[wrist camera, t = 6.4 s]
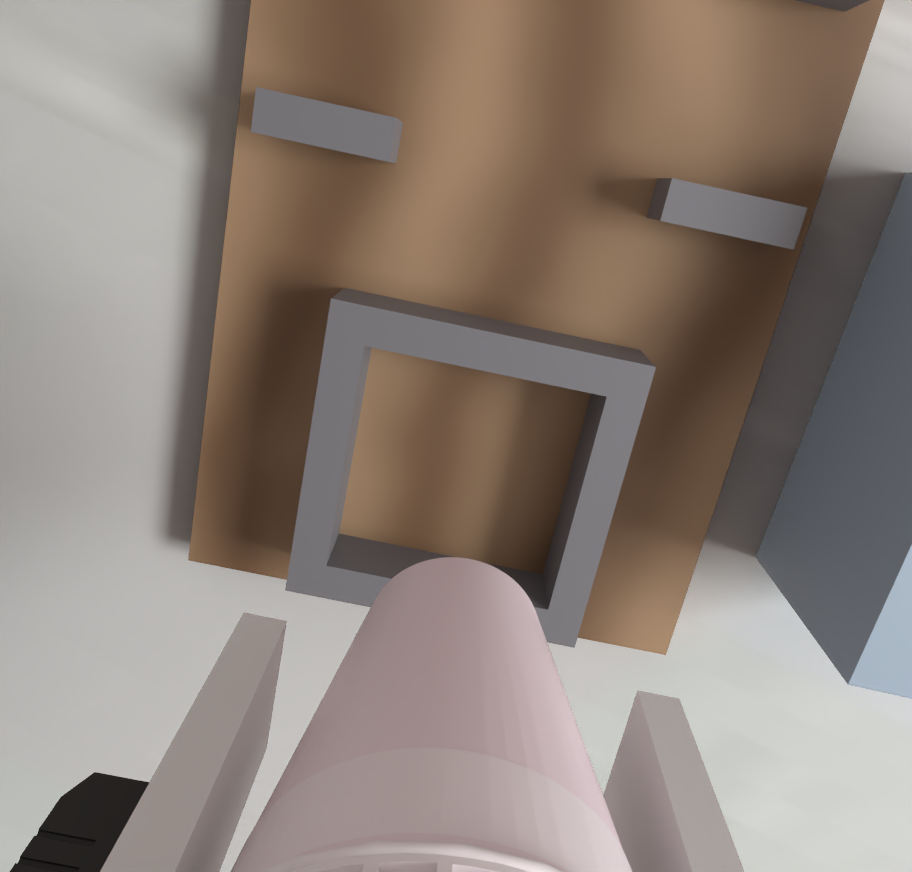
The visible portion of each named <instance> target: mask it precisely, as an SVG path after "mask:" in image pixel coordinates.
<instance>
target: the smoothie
mask: <svg viewBox="0 0 912 872" xmlns="http://www.w3.org/2000/svg"><path fill="white" fill-rule="evenodd" d="M231 872H632V869H631V867H630V865H629V862H628V860H627V858H626V855H625V853H624V851H623V848H622V845H621V843H620V840H619V837H618V834H617V832H616V829H615V826H614V823H613V821H612V818H611V815H610V813H609V810H608V807H607V804H606V802H605V799H604V796H603V793H602V791H601V788H600V785H599V783H598V780H597V777H596V774H595V772H594V769H593V766H592V764H591V761H590V758H589V755H588V753H587V750H586V747H585V744H584V742H583V739H582V736H581V734H580V731H579V728H578V725H577V723H576V720H575V717H574V714H573V712H572V709H571V706H570V704H569V701H568V698H567V695H566V693H565V690H564V687H563V684H562V682H561V679H560V676H559V674H558V671H557V668H556V665H555V663H554V660H553V657H552V654H551V652H550V649H549V646H548V644H547V641H546V638H545V635H544V633H543V630H542V627H541V624H540V622H539V619H538V616H537V614H536V611H535V609H534V606H533V604H532V602H531V600H530V599H529V597H528V596H527V594H526V593H525V591H524V590H523V589H522V588H521V587H520V585H519V584H518V583H517V582H515V581H514V580H513V579H512V578H511V577H510V576H508V575H507V574H505V573H504V572H502V571H501V570H499V569H497V568H495V567H493V566H491V565H489V564H486V563H483V562H480V561H477V560H472V559H468V558H459V557H445V558H436V559H431V560H427V561H423V562H420V563H417V564H415V565H413V566H410V567H408V568H407V569H405V570H403V571H401V572H400V573H399V574H397V575H396V576H394V577H393V578H392V579H391V580H390V581H389V582H388V583H387V584H386V585H385V586H384V587H383V588H382V590H381V591H380V592H379V594H378V595H377V597H376V599H375V601H374V602H373V604H372V606H371V608H370V610H369V612H368V614H367V616H366V618H365V619H364V621H363V623H362V625H361V627H360V629H359V631H358V633H357V635H356V636H355V638H354V640H353V642H352V644H351V646H350V648H349V650H348V652H347V654H346V655H345V657H344V659H343V661H342V663H341V665H340V667H339V669H338V671H337V672H336V674H335V676H334V678H333V680H332V682H331V684H330V686H329V688H328V690H327V691H326V693H325V695H324V697H323V699H322V701H321V703H320V705H319V707H318V708H317V710H316V712H315V714H314V716H313V718H312V720H311V722H310V724H309V725H308V727H307V729H306V731H305V733H304V735H303V737H302V739H301V741H300V743H299V744H298V746H297V748H296V750H295V752H294V754H293V756H292V758H291V760H290V761H289V763H288V765H287V767H286V769H285V771H284V773H283V775H282V777H281V779H280V780H279V782H278V784H277V786H276V788H275V790H274V792H273V794H272V796H271V797H270V799H269V801H268V803H267V805H266V807H265V809H264V811H263V813H262V814H261V816H260V818H259V820H258V822H257V824H256V826H255V827H254V829H253V831H252V832H251V834H250V836H249V837H248V839H247V841H246V843H245V845H244V847H243V849H242V850H241V852H240V854H239V856H238V858H237V860H236V862H235V864H234V866H233V868H232V870H231Z"/></svg>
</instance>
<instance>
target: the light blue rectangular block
mask: <svg viewBox="0 0 912 872" xmlns="http://www.w3.org/2000/svg"><path fill="white" fill-rule="evenodd" d="M756 558H757V559H758V561H759V562H760V564H761V565H762V566H763V568H764V569H765V570H766V572H767V573H768V575H769V576H770V577H771V579H772V580H773V581H774V583H775V584H776V586H777V587H778V588H779V590H780V591H781V593H782V594H783V595H784V597H785V598H786V599H787V601H788V602H789V604H790V605H791V606H792V608H793V609H794V610H795V612H796V613H797V615H798V616H799V617H800V619H801V620H802V622H803V623H804V624H805V626H806V627H807V628H808V630H809V631H810V633H811V634H812V635H813V637H814V638H815V639H816V641H817V642H818V644H819V645H820V646H821V648H822V649H823V651H824V652H825V653H826V655H827V656H828V657H829V659H830V660H831V662H832V663H833V664H834V666H835V667H836V668H837V670H838V671H839V673H840V674H841V675H842V677H843V678H844V679H845V681H846V682H847V684H848V685H853V686H857V687H862V688H866V689H870V690H875V691H879V692H884V693H888V694H893V695H897V696H902V697H906V698H911V699H912V173H905V176H904V178H903V181H902V183H901V186H900V188H899V191H898V193H897V196H896V199H895V201H894V204H893V206H892V209H891V211H890V214H889V217H888V219H887V222H886V224H885V227H884V229H883V232H882V235H881V237H880V240H879V242H878V245H877V247H876V250H875V253H874V255H873V258H872V260H871V263H870V265H869V268H868V271H867V273H866V276H865V278H864V281H863V283H862V286H861V289H860V291H859V294H858V296H857V299H856V301H855V304H854V307H853V309H852V312H851V314H850V317H849V319H848V322H847V325H846V327H845V330H844V332H843V335H842V337H841V340H840V342H839V345H838V348H837V350H836V353H835V355H834V358H833V360H832V363H831V366H830V368H829V371H828V373H827V376H826V378H825V381H824V384H823V386H822V389H821V391H820V394H819V396H818V399H817V402H816V404H815V407H814V409H813V412H812V414H811V417H810V420H809V422H808V425H807V427H806V430H805V432H804V435H803V438H802V440H801V443H800V445H799V448H798V450H797V453H796V456H795V458H794V461H793V463H792V466H791V468H790V471H789V474H788V476H787V479H786V481H785V484H784V486H783V489H782V492H781V494H780V497H779V499H778V502H777V504H776V507H775V509H774V512H773V515H772V517H771V520H770V522H769V525H768V527H767V530H766V533H765V535H764V538H763V540H762V543H761V545H760V548H759V551H758V553H757V556H756Z"/></svg>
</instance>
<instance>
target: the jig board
mask: <svg viewBox="0 0 912 872" xmlns="http://www.w3.org/2000/svg"><path fill="white" fill-rule="evenodd" d="M883 3H884V0H869V1H867V2H865V3H863V4H860V5H858V6H856V7H854V8H852V9H850V10H848V11H845V12H844V11H839V10H835V9H830V8H826V7H822V6H817V5H813V4H808V3H804V2H800V1H795V0H251V5H250V14H249V23H248V32H247V41H246V50H245V59H244V68H243V77H242V86H241V95H240V104H239V113H238V122H237V131H236V139H235V148H234V157H233V166H232V175H231V184H230V193H229V202H228V211H227V220H226V229H225V238H224V247H223V256H222V264H221V273H220V282H219V291H218V300H217V309H216V318H215V327H214V336H213V345H212V354H211V363H210V372H209V381H208V389H207V398H206V407H205V416H204V425H203V434H202V443H201V452H200V461H199V470H198V479H197V488H196V497H195V506H194V515H193V523H192V532H191V541H190V550H189V559H188V560H190V561H195V562H200V563H205V564H211V565H216V566H221V567H226V568H231V569H236V570H241V571H246V572H251V573H256V574H261V575H266V576H271V577H276V578H281V579H286V580H287V576H288V570H289V564H290V557H291V551H292V545H293V538H294V532H295V525H296V519H297V513H298V506H299V500H300V493H301V487H302V481H303V474H304V468H305V461H306V455H307V449H308V442H309V436H310V429H311V423H312V417H313V410H314V404H315V397H316V391H317V385H318V378H319V372H320V365H321V359H322V353H323V346H324V340H325V333H326V327H327V321H328V314H329V308H330V301H331V298H332V297H333V296H335V295H336V294H337V293H339V292H340V291H341V290H342V289H344V288H349V289H354V290H359V291H363V292H368V293H373V294H378V295H382V296H387V297H392V298H397V299H401V300H406V301H411V302H415V303H420V304H425V305H430V306H434V307H439V308H444V309H449V310H453V311H458V312H463V313H468V314H472V315H477V316H482V317H486V318H491V319H496V320H501V321H505V322H510V323H515V324H520V325H524V326H529V327H534V328H539V329H543V330H548V331H553V332H557V333H562V334H567V335H572V336H576V337H581V338H586V339H591V340H595V341H600V342H605V343H610V344H614V345H619V346H624V347H629V348H633V349H638V350H641V351H642V352H643V353H644V354H645V355H646V357H647V358H648V359H649V360H650V361H651V362H652V363H653V364H654V365H655V366H656V369H655V373H654V376H653V380H652V383H651V387H650V390H649V393H648V397H647V400H646V404H645V407H644V411H643V414H642V417H641V421H640V424H639V428H638V431H637V435H636V438H635V441H634V445H633V448H632V452H631V455H630V459H629V462H628V465H627V469H626V472H625V476H624V479H623V483H622V486H621V489H620V493H619V496H618V500H617V503H616V507H615V510H614V513H613V517H612V520H611V524H610V527H609V531H608V534H607V537H606V541H605V544H604V548H603V551H602V555H601V558H600V561H599V565H598V568H597V572H596V575H595V579H594V582H593V585H592V589H591V592H590V596H589V599H588V603H587V606H586V609H585V613H584V616H583V620H582V623H581V627H580V630H579V633H578V638H583V639H588V640H593V641H598V642H603V643H608V644H613V645H619V646H624V647H629V648H634V649H639V650H644V651H649V652H654V653H659V654H664V655H666V652H667V649H668V646H669V643H670V641H671V638H672V635H673V632H674V629H675V626H676V623H677V620H678V617H679V614H680V611H681V608H682V605H683V602H684V599H685V596H686V593H687V590H688V587H689V584H690V581H691V578H692V575H693V572H694V569H695V566H696V563H697V560H698V557H699V554H700V551H701V548H702V545H703V542H704V539H705V536H706V533H707V530H708V527H709V524H710V521H711V518H712V515H713V512H714V509H715V506H716V503H717V500H718V497H719V494H720V491H721V488H722V485H723V482H724V479H725V476H726V473H727V470H728V467H729V464H730V461H731V458H732V455H733V452H734V449H735V446H736V443H737V440H738V437H739V434H740V431H741V428H742V425H743V422H744V419H745V416H746V413H747V410H748V407H749V404H750V401H751V398H752V395H753V392H754V389H755V386H756V383H757V380H758V377H759V374H760V371H761V368H762V365H763V362H764V359H765V356H766V353H767V350H768V347H769V344H770V341H771V338H772V335H773V332H774V329H775V326H776V323H777V320H778V317H779V314H780V311H781V308H782V305H783V302H784V299H785V296H786V293H787V290H788V287H789V284H790V281H791V278H792V275H793V272H794V269H795V266H796V263H797V260H798V257H799V254H800V251H801V248H802V245H803V242H804V239H805V236H806V233H807V230H808V227H809V224H810V221H811V219H812V216H813V213H814V210H815V207H816V204H817V201H818V198H819V195H820V192H821V189H822V186H823V183H824V180H825V177H826V174H827V171H828V168H829V165H830V162H831V159H832V156H833V153H834V150H835V147H836V144H837V141H838V138H839V135H840V132H841V129H842V126H843V123H844V120H845V117H846V114H847V111H848V108H849V105H850V102H851V99H852V96H853V93H854V90H855V87H856V84H857V81H858V78H859V75H860V72H861V69H862V66H863V63H864V60H865V57H866V54H867V51H868V48H869V45H870V42H871V39H872V36H873V33H874V30H875V27H876V24H877V21H878V18H879V15H880V12H881V9H882V6H883ZM256 87H258V88H263V89H267V90H272V91H276V92H281V93H286V94H290V95H295V96H299V97H304V98H308V99H313V100H318V101H322V102H327V103H331V104H336V105H340V106H345V107H350V108H354V109H359V110H363V111H368V112H372V113H377V114H382V115H386V116H391V117H395V118H397V119H399V120H400V121H402V122H403V126H402V132H401V138H400V143H399V149H398V155H397V161H396V163H392V162H387V161H382V160H378V159H373V158H368V157H364V156H359V155H355V154H350V153H345V152H341V151H336V150H332V149H327V148H322V147H318V146H313V145H309V144H304V143H299V142H295V141H290V140H286V139H281V138H276V137H272V136H267V135H262V134H258V133H253V132H251V126H252V117H253V109H254V100H255V92H256ZM657 178H674V179H679V180H683V181H688V182H692V183H697V184H701V185H706V186H710V187H715V188H720V189H724V190H729V191H733V192H738V193H742V194H747V195H752V196H756V197H761V198H765V199H770V200H774V201H779V202H784V203H788V204H793V205H797V206H802V207H806V208H807V211H806V214H805V217H804V220H803V223H802V226H801V229H800V232H799V235H798V238H797V241H796V244H795V247H794V250H793V249H788V248H783V247H779V246H774V245H770V244H765V243H760V242H756V241H751V240H746V239H742V238H737V237H733V236H728V235H723V234H719V233H714V232H710V231H705V230H700V229H696V228H691V227H687V226H682V225H677V224H673V223H668V222H663V221H659V220H655V219H650V218H647V215H648V211H649V207H650V204H651V200H652V196H653V192H654V189H655V185H656V181H657ZM590 396H591V393H587V392H582V391H577V390H572V389H568V388H563V387H558V386H553V385H548V384H544V383H539V382H534V381H529V380H524V379H520V378H515V377H510V376H505V375H501V374H496V373H491V372H486V371H481V370H477V369H472V368H467V367H462V366H457V365H453V364H448V363H443V362H438V361H434V360H429V359H424V358H419V357H414V356H410V355H405V354H400V353H395V352H390V351H386V350H381V349H376V348H372V350H371V355H370V361H369V367H368V373H367V378H366V384H365V390H364V395H363V401H362V407H361V412H360V418H359V424H358V429H357V435H356V441H355V446H354V452H353V458H352V464H351V469H350V475H349V481H348V486H347V492H346V498H345V503H344V509H343V515H342V520H341V526H340V532H339V534H344V535H349V536H354V537H359V538H364V539H369V540H374V541H379V542H384V543H389V544H394V545H399V546H404V547H409V548H414V549H419V550H423V551H428V552H433V553H438V554H443V555H448V556H453V557H459V558H468V559H472V560H477V561H480V562H483V563H488V564H493V565H498V566H503V567H508V568H513V569H518V570H523V571H528V572H533V573H538V574H543V572H544V568H545V564H546V560H547V557H548V553H549V549H550V545H551V542H552V538H553V534H554V531H555V527H556V523H557V519H558V516H559V512H560V508H561V504H562V501H563V497H564V493H565V490H566V486H567V482H568V478H569V475H570V471H571V467H572V463H573V460H574V456H575V452H576V449H577V445H578V441H579V437H580V434H581V430H582V426H583V422H584V419H585V415H586V411H587V408H588V404H589V400H590Z"/></svg>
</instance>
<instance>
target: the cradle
mask: <svg viewBox="0 0 912 872" xmlns="http://www.w3.org/2000/svg"><path fill="white" fill-rule="evenodd" d="M372 348H376V349H381V350H386V351H390V352H395V353H400V354H405V355H410V356H414V357H419V358H424V359H429V360H434V361H438V362H443V363H448V364H453V365H457V366H462V367H467V368H472V369H477V370H481V371H486V372H491V373H496V374H501V375H505V376H510V377H515V378H520V379H524V380H529V381H534V382H539V383H544V384H548V385H553V386H558V387H563V388H568V389H572V390H577V391H582V392H587V393H591V396H590V400H589V404H588V408H587V411H586V415H585V419H584V422H583V426H582V430H581V434H580V437H579V441H578V445H577V449H576V452H575V456H574V460H573V463H572V467H571V471H570V475H569V478H568V482H567V486H566V490H565V493H564V497H563V501H562V504H561V508H560V512H559V516H558V519H557V523H556V527H555V531H554V534H553V538H552V542H551V545H550V549H549V553H548V557H547V560H546V564H545V568H544V572H543V574H538V573H533V572H528V571H523V570H518V569H513V568H508V567H503V566H498V565H493V564H489V565H491V566H493V567H495V568H497V569H499V570H501V571H502V572H504V573H505V574H507V575H508V576H510V577H511V578H512V579H513V580H514V581H515V582H517V583H518V584H519V585H520V587H521V588H522V589H523V590H524V591H525V593H526V594H527V596H528V597H529V599H530V600H531V602H532V604H533V606H534V609H535V611H536V614H537V616H538V619H539V622H540V624H541V627H542V630H543V633H544V635H545V638H546V641H547V642H549V643H554V644H559V645H564V646H569V647H575V644H576V640H577V637H578V633H579V630H580V627H581V623H582V620H583V616H584V613H585V609H586V606H587V603H588V599H589V596H590V592H591V589H592V585H593V582H594V579H595V575H596V572H597V568H598V565H599V561H600V558H601V555H602V551H603V548H604V544H605V541H606V537H607V534H608V531H609V527H610V524H611V520H612V517H613V513H614V510H615V507H616V503H617V500H618V496H619V493H620V489H621V486H622V483H623V479H624V476H625V472H626V469H627V465H628V462H629V459H630V455H631V452H632V448H633V445H634V441H635V438H636V435H637V431H638V428H639V424H640V421H641V417H642V414H643V411H644V407H645V404H646V400H647V397H648V393H649V390H650V387H651V383H652V380H653V376H654V373H655V369H656V366H655V365H654V364H653V363H652V362H651V361H650V360H649V359H648V358H647V357H646V355H645V354H644V353H643V352H642V351H641V350H638V349H633V348H629V347H624V346H619V345H614V344H610V343H605V342H600V341H595V340H591V339H586V338H581V337H576V336H572V335H567V334H562V333H557V332H553V331H548V330H543V329H539V328H534V327H529V326H524V325H520V324H515V323H510V322H505V321H501V320H496V319H491V318H486V317H482V316H477V315H472V314H468V313H463V312H458V311H453V310H449V309H444V308H439V307H434V306H430V305H425V304H420V303H415V302H411V301H406V300H401V299H397V298H392V297H387V296H382V295H378V294H373V293H368V292H363V291H359V290H354V289H349V288H344V289H342V290H341V291H340V292H339V293H337V294H336V295H335V296H333V297H332V298H331V301H330V308H329V314H328V321H327V327H326V333H325V340H324V346H323V353H322V359H321V365H320V372H319V378H318V385H317V391H316V397H315V404H314V410H313V417H312V423H311V429H310V436H309V442H308V449H307V455H306V461H305V468H304V474H303V481H302V487H301V493H300V500H299V506H298V513H297V519H296V525H295V532H294V538H293V545H292V551H291V557H290V564H289V570H288V576H287V583H286V589H285V590H286V591H292V592H297V593H302V594H307V595H312V596H317V597H322V598H327V599H332V600H337V601H342V602H347V603H352V604H357V605H362V606H367V607H371V606H372V604H373V602H374V601H375V599H376V597H377V595H378V594H379V592H380V591H381V590H382V588H383V587H384V586H385V585H386V584H387V583H388V582H389V581H390V580H391V579H392V578H393V577H394V576H396V575H397V574H399V573H400V572H401V571H403V570H405V569H407V568H408V567H410V566H413V565H415V564H417V563H420V562H423V561H427V560H431V559H436V558H445V557H453V556H448V555H443V554H438V553H433V552H428V551H423V550H419V549H414V548H409V547H404V546H399V545H394V544H389V543H384V542H379V541H374V540H369V539H364V538H359V537H354V536H349V535H344V534H339V532H340V526H341V520H342V515H343V509H344V503H345V498H346V492H347V486H348V481H349V475H350V469H351V464H352V458H353V452H354V446H355V441H356V435H357V429H358V424H359V418H360V412H361V407H362V401H363V395H364V390H365V384H366V378H367V373H368V367H369V361H370V355H371V350H372ZM486 564H488V563H486Z"/></svg>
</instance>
